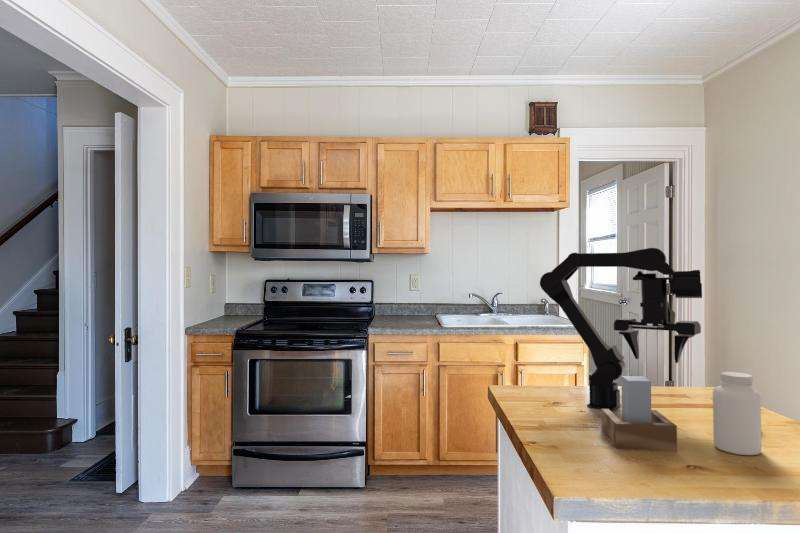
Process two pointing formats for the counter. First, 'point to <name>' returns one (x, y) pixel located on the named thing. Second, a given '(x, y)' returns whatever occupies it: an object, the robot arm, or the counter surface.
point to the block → (636, 399)
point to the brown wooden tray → (640, 432)
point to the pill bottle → (737, 415)
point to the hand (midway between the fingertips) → (656, 360)
